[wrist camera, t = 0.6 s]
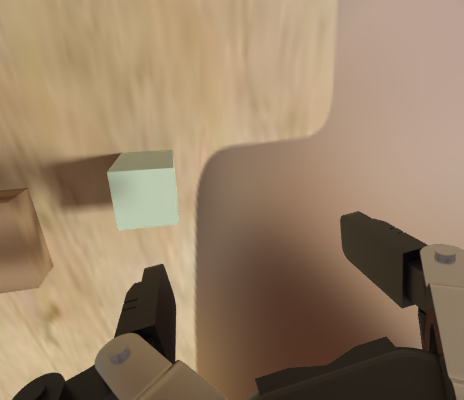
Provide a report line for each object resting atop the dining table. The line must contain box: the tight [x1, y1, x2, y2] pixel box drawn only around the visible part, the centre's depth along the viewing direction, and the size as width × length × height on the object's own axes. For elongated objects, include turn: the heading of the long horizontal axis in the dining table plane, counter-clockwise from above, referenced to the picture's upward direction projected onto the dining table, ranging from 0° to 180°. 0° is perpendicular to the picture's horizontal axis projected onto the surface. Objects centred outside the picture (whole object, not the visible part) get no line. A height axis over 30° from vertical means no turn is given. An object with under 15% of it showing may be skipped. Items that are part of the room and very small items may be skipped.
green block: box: [107, 150, 179, 230], centre depth 26 cm, size 5×5×7 cm
